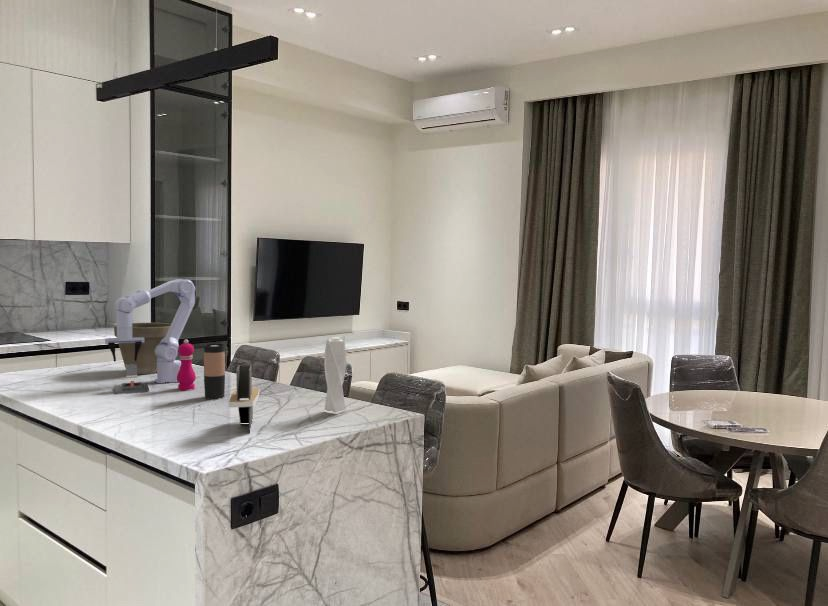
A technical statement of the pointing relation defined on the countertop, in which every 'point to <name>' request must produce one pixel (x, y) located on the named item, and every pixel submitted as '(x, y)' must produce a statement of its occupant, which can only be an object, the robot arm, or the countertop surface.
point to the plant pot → (144, 345)
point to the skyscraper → (335, 373)
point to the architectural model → (244, 394)
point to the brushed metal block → (131, 370)
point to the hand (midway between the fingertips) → (125, 360)
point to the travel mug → (214, 371)
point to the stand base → (131, 387)
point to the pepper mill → (186, 367)
